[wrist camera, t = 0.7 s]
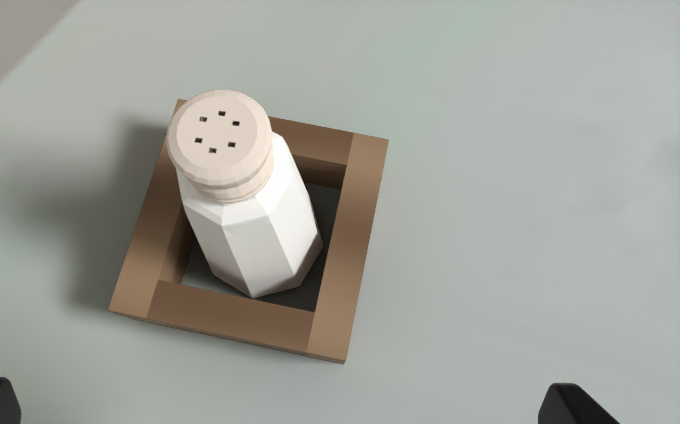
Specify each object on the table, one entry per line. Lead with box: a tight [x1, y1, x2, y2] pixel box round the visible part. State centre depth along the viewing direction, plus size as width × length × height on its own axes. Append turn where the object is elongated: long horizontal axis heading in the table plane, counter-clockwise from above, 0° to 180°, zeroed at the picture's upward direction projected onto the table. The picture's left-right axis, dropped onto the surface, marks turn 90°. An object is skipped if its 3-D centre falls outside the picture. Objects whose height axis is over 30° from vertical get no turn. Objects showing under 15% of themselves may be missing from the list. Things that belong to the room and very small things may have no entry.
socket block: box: [108, 99, 389, 364], centre depth 24 cm, size 9×9×3 cm
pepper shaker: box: [166, 90, 324, 298], centre depth 20 cm, size 5×5×11 cm
